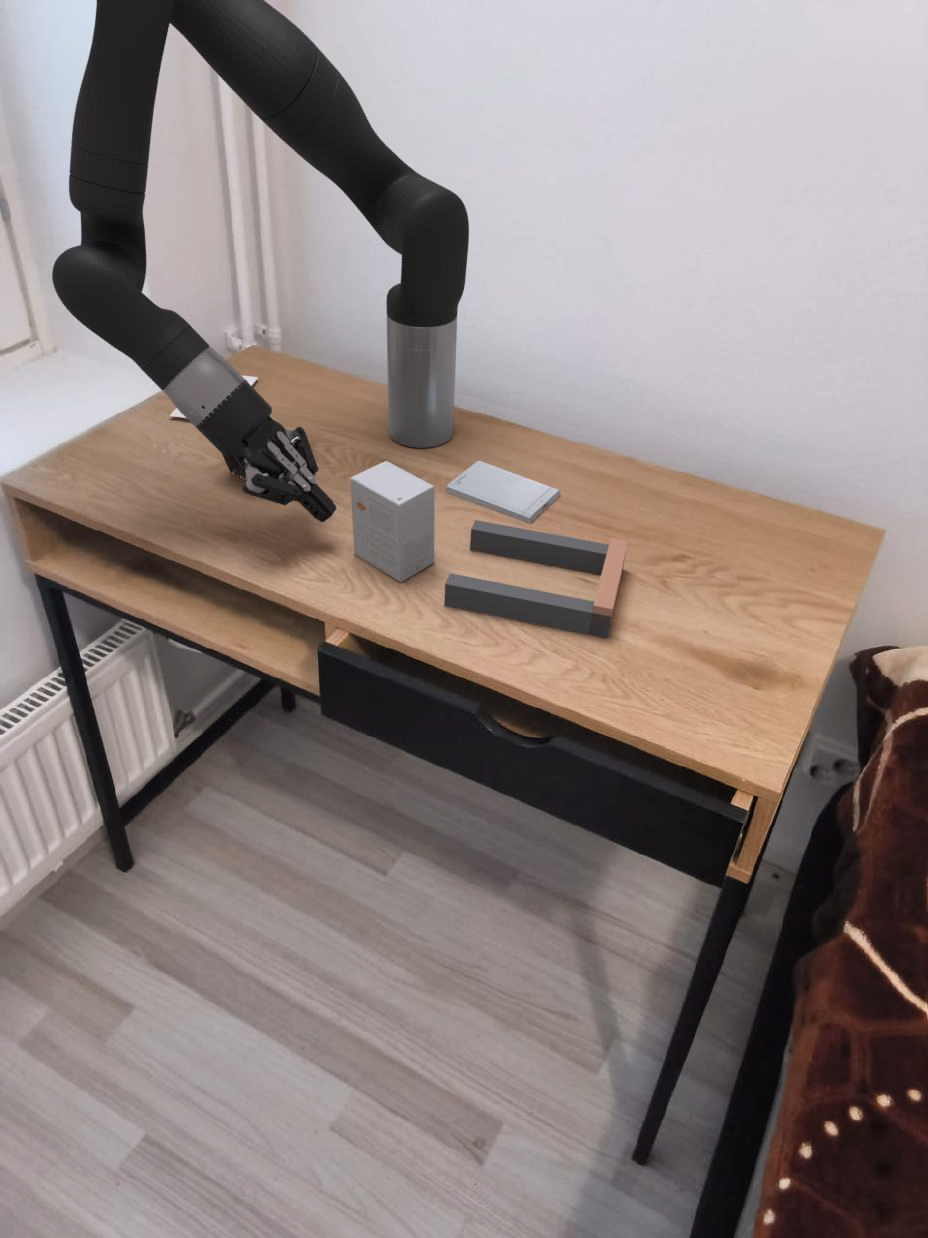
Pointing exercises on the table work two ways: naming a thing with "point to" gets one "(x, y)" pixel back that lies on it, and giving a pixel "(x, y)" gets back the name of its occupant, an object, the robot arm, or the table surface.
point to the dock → (534, 602)
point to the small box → (393, 520)
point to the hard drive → (503, 491)
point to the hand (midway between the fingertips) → (329, 515)
